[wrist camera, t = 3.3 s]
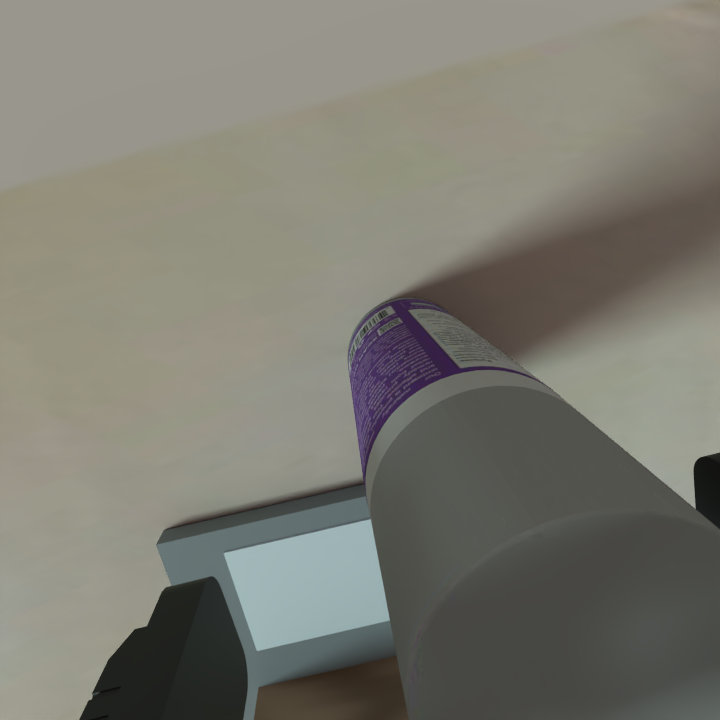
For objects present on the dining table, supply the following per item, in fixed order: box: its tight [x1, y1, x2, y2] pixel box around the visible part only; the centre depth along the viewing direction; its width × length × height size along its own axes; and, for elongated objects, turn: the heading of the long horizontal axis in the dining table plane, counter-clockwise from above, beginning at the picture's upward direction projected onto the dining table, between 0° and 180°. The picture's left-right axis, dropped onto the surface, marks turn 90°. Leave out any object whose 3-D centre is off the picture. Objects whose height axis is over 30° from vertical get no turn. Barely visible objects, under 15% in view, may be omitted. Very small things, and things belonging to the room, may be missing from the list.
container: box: [348, 297, 720, 720], centre depth 13 cm, size 5×5×15 cm
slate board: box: [156, 484, 397, 720], centre depth 24 cm, size 12×18×1 cm, turn 13°
